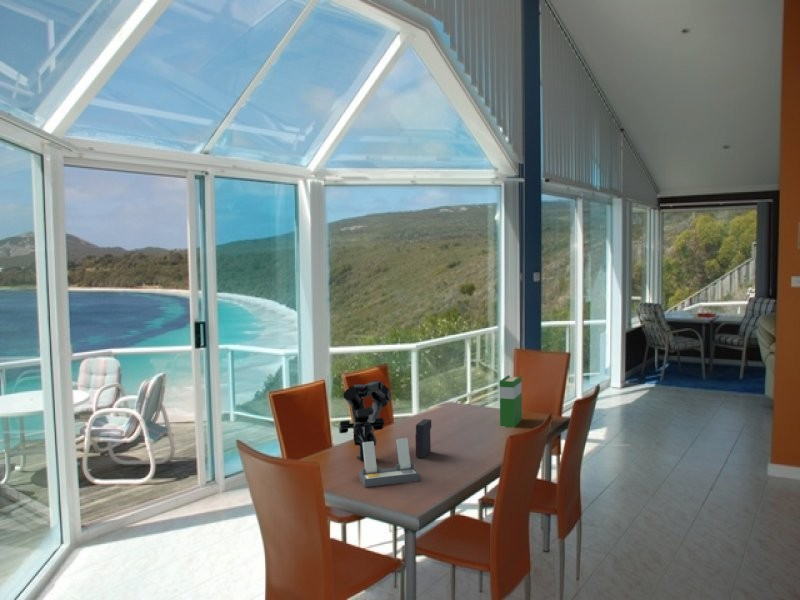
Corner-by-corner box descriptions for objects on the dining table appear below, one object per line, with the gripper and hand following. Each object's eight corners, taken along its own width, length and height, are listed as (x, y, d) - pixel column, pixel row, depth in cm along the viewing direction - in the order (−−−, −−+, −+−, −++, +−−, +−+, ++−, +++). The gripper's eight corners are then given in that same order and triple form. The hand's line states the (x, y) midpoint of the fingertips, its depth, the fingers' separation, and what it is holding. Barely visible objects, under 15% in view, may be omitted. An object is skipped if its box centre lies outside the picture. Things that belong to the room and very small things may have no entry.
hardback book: (508, 418, 347) (507, 375, 345) (521, 419, 344) (521, 376, 342) (500, 426, 330) (499, 381, 329) (514, 427, 327) (513, 381, 326)
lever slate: (399, 469, 255) (395, 439, 259) (409, 468, 256) (406, 438, 260) (400, 469, 253) (397, 438, 257) (411, 468, 255) (407, 437, 258)
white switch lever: (365, 473, 251) (362, 443, 255) (376, 472, 253) (372, 441, 257) (366, 472, 250) (363, 442, 254) (377, 471, 251) (373, 441, 255)
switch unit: (359, 478, 255) (359, 465, 254) (411, 472, 260) (411, 459, 260) (364, 487, 245) (364, 473, 245) (419, 480, 251) (418, 467, 250)
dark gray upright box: (423, 450, 291) (422, 418, 290) (432, 451, 289) (431, 419, 288) (414, 457, 280) (414, 424, 279) (424, 458, 279) (423, 425, 278)
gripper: (339, 402, 262) (344, 435, 252) (382, 398, 267) (390, 430, 257) (336, 416, 270) (341, 449, 260) (378, 412, 275) (385, 444, 265)
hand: (365, 443), depth 261 cm, fingers closed
